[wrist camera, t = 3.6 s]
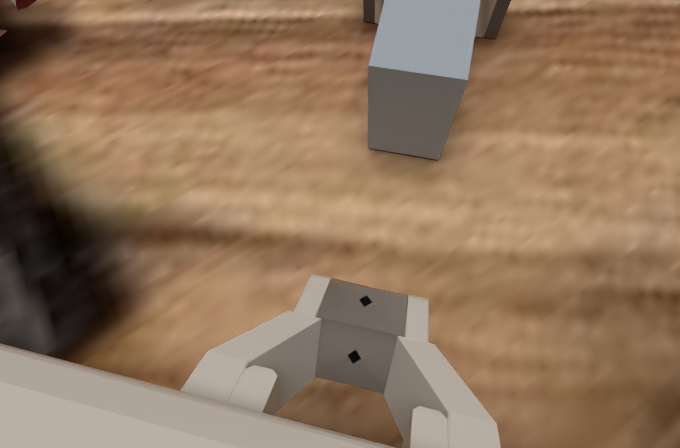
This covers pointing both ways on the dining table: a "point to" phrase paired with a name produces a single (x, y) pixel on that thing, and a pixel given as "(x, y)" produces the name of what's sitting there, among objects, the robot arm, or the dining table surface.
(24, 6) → the toy
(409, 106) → the grey rectangular box
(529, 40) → the dining table surface
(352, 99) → the dining table surface
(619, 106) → the dining table surface
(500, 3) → the frame
